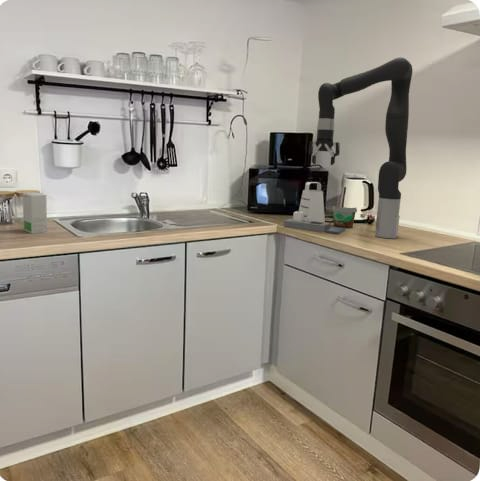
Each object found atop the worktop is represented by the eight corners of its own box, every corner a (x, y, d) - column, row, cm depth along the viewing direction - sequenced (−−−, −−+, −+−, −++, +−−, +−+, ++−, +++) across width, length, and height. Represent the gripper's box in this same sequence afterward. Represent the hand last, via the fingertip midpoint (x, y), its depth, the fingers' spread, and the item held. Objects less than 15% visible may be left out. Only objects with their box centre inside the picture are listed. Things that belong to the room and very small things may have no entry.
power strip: (329, 229, 215) (330, 222, 214) (324, 232, 207) (324, 224, 206) (290, 224, 224) (291, 217, 223) (283, 226, 216) (284, 220, 215)
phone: (345, 230, 213) (345, 228, 213) (338, 234, 203) (338, 232, 202) (332, 228, 216) (333, 226, 216) (325, 232, 205) (325, 230, 205)
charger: (303, 226, 218) (304, 211, 217) (300, 227, 215) (301, 212, 213) (295, 225, 220) (296, 210, 219) (292, 226, 217) (293, 211, 215)
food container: (327, 226, 222) (329, 206, 220) (331, 224, 227) (332, 205, 225) (352, 229, 216) (354, 208, 214) (355, 227, 222) (357, 207, 220)
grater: (297, 219, 241) (299, 181, 236) (313, 218, 245) (316, 181, 241) (307, 222, 231) (310, 183, 227) (324, 221, 236) (327, 183, 232)
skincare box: (23, 230, 185) (21, 192, 182) (39, 228, 190) (37, 192, 187) (32, 233, 180) (29, 194, 176) (48, 232, 184) (46, 194, 181)
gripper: (343, 129, 208) (340, 165, 212) (313, 129, 215) (311, 163, 218) (338, 128, 202) (335, 165, 205) (308, 128, 208) (305, 163, 212)
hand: (322, 164), depth 212 cm, fingers open, 8 cm apart
